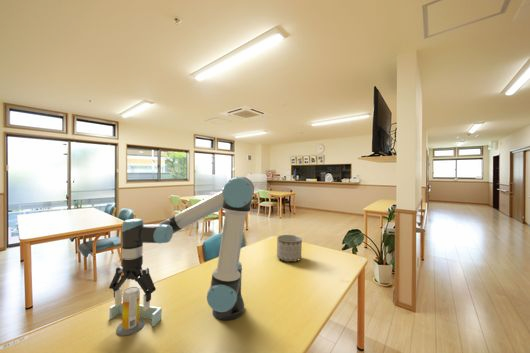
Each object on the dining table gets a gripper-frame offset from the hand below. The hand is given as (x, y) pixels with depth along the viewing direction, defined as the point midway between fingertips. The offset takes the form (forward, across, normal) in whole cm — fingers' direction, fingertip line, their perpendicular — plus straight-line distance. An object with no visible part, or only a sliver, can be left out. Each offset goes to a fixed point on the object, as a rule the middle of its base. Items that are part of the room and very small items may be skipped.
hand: (132, 306), depth 91 cm
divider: (+8, +3, -5) cm, 10 cm away
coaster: (+8, +1, 0) cm, 9 cm away
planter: (+10, -59, -93) cm, 111 cm away
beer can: (+8, +1, 0) cm, 8 cm away
